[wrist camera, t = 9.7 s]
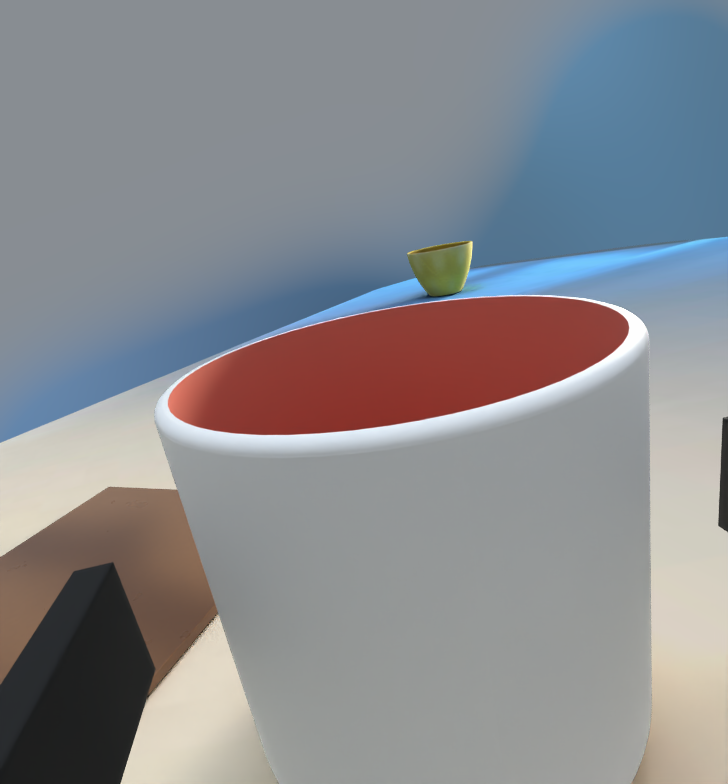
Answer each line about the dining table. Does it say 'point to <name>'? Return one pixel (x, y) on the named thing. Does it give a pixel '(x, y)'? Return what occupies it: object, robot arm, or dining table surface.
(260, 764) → the dining table surface
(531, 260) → the dining table surface
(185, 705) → the dining table surface
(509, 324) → the cup
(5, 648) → the coaster
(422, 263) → the flower pot
